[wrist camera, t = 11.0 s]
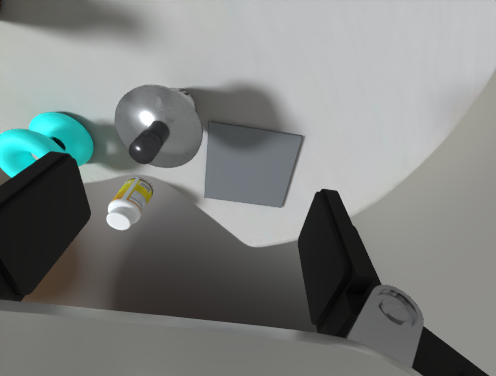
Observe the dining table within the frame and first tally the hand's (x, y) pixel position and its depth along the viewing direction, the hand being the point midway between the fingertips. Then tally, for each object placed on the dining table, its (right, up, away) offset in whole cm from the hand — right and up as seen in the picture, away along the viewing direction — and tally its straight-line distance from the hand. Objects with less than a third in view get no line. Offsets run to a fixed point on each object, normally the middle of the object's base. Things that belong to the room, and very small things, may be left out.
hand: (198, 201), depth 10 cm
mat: (+2, +4, +38) cm, 38 cm away
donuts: (-30, +10, +35) cm, 48 cm away
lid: (-9, +8, +23) cm, 26 cm away
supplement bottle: (-20, +1, +41) cm, 46 cm away
